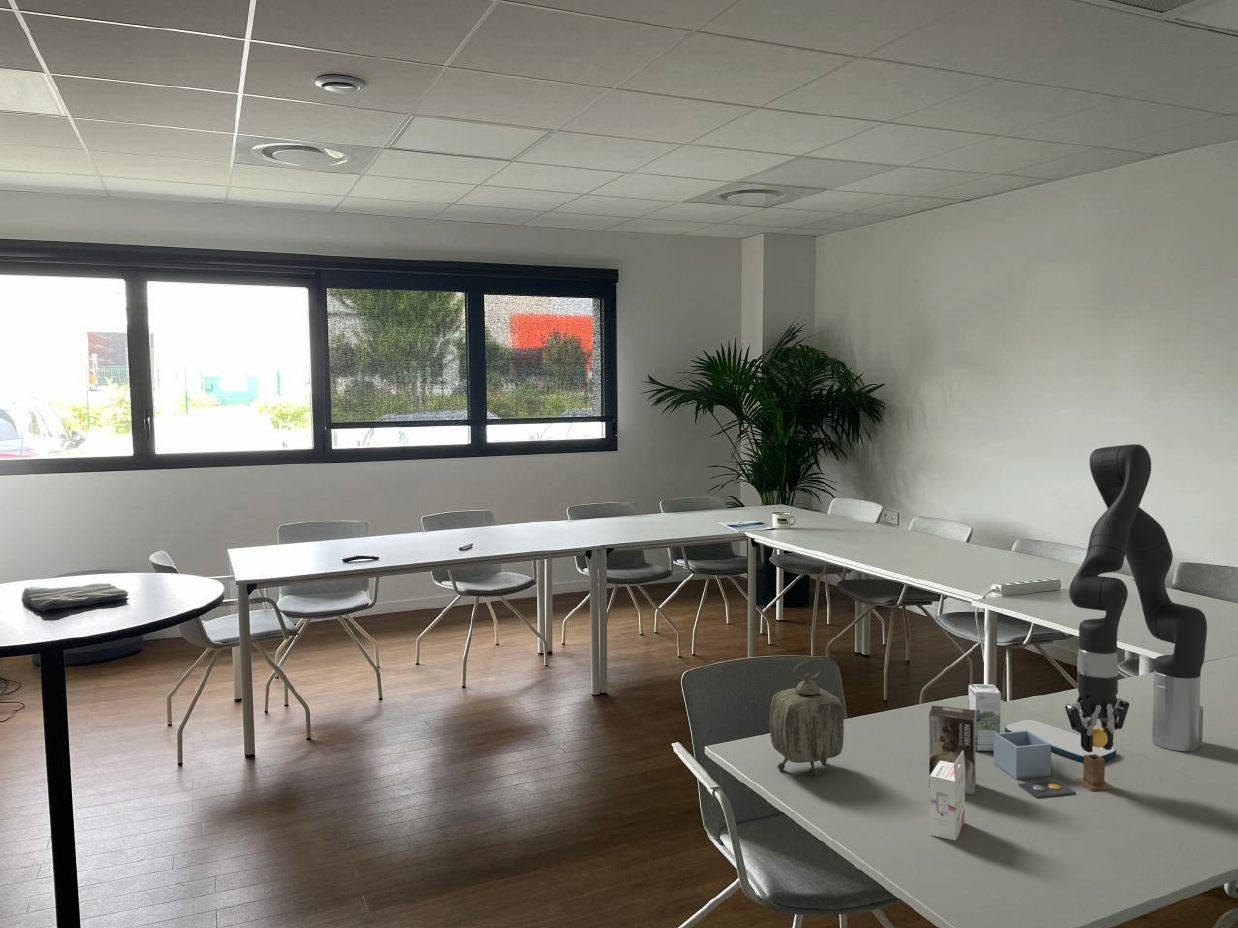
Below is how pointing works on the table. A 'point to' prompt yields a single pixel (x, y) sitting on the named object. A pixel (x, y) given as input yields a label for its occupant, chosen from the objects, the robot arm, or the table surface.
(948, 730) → the coffee box
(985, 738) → the syrup box
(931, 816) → the ink cartridge box
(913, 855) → the table surface
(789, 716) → the tabletop clock
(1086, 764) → the brown square ball stand
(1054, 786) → the card
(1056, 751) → the white rounded slab
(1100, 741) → the ball amber
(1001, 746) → the blue open box
